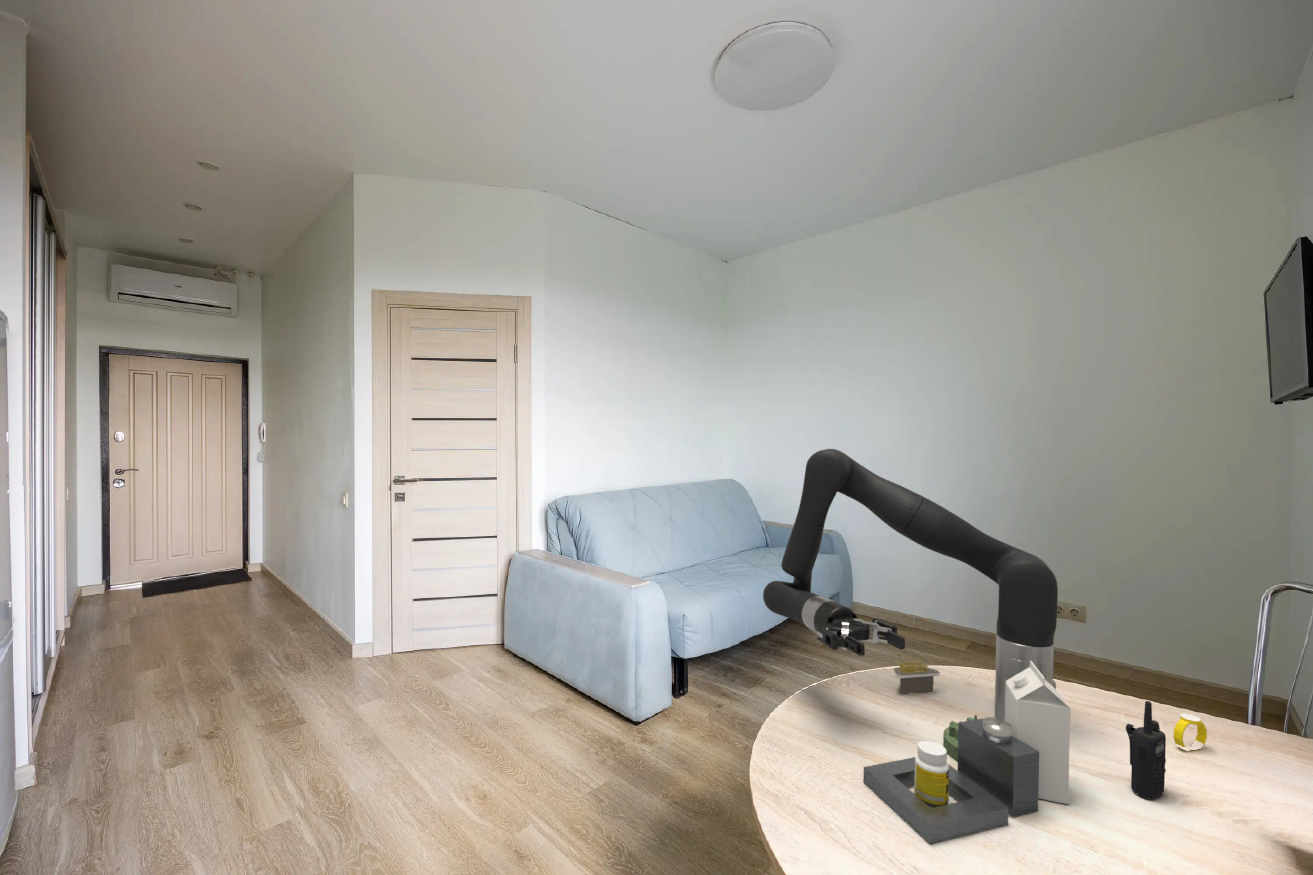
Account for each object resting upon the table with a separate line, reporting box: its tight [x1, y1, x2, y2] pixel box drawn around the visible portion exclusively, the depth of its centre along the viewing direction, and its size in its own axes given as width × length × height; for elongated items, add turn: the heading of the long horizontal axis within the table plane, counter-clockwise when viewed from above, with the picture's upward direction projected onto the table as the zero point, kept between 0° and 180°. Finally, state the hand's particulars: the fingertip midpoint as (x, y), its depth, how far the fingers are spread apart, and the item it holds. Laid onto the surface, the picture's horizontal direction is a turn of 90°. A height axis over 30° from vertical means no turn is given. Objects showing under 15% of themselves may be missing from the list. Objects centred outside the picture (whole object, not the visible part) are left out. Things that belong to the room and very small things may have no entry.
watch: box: [1172, 712, 1208, 747], centre depth 101 cm, size 6×3×6 cm, turn 102°
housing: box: [863, 716, 1039, 845], centre depth 86 cm, size 21×14×11 cm, turn 107°
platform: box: [893, 660, 941, 695], centre depth 122 cm, size 12×18×7 cm, turn 100°
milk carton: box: [1005, 661, 1071, 805], centre depth 89 cm, size 7×7×19 cm
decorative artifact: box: [942, 714, 978, 763], centre depth 98 cm, size 10×7×10 cm
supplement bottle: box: [913, 740, 950, 808], centre depth 85 cm, size 5×5×8 cm
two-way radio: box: [1125, 700, 1167, 800], centre depth 89 cm, size 6×4×15 cm
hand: (883, 646), depth 98 cm, fingers open, 8 cm apart
